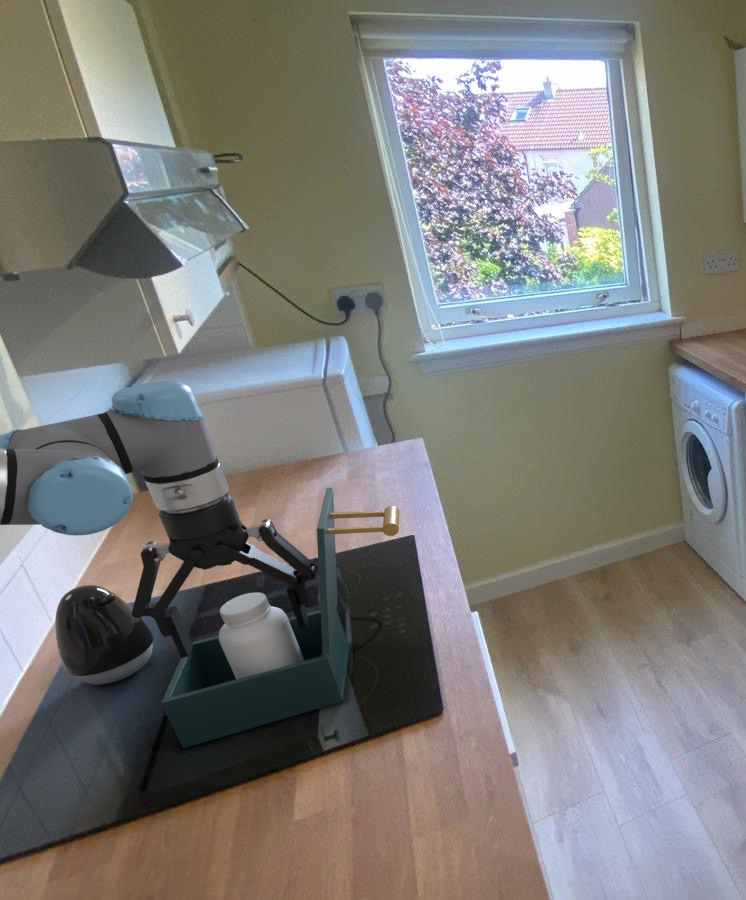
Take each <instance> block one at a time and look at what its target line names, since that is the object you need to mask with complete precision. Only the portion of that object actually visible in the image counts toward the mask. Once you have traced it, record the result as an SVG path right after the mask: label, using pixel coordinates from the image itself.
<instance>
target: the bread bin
mask: <svg viewBox="0 0 746 900" xmlns="http://www.w3.org/2000/svg"><path fill="white" fill-rule="evenodd" d="M307 615H308V621H307V626H306V628H302V629H300V628H299V625H298V622H297V619H296V616H295V615H294V616H291V617H288V620H289V623H290V625H291V628H292V630H293V633H294V635H295V638H296V640H297V643H298V645H299V648H300V650H301V653H302V655H303V658H304V661H303V662H299V663H296V664H292V665H288V666H285V667H281V668H277V669H274V670H270V671H266V672H263V673H259V674H255V675H252V676H248V677H244V678H241V679H237V680H236V678H235V675H234V673H233V671H232V669H231V666H230V664H229V662H228V660H227V658H226V655H225V653H224V651H223V649H222V646H221V644H220V642H219V635H215V636H210V637H207V638H203V639H199V640H195V641H192V643H193V647H192V649H191V651H190V653H189V656H188V657H184V658H181V657H180V659H179V662H178V664H177V666H176V668H175V671H174V673H173V675H172V677H171V680H170V681H169V684H168V687H167V689H166V691H165V693H164V695H163V697H162V700H161V702H160V704H161V707H162V709H163V710H164V712H165V715H166V717H167V718H168V721H169V722H170V725H171V726H172V729H173V731H174V733H175V735H176V736H177V739H178V741H179V743H180V745H181V747H182V749H186V748H191V747H194V746H198V745H200V744H203V743H206V742H210V741H213V740H217V739H220V738H224V737H226V736H227V737H228V736H230V735H234V734H237V733H240V732H244V731H247V730H251V729H255V728H257V727H261V726H265V725H269V724H271V723H275V722H278V721H281V720H285V719H288V718H291V717H294V716H298V715H303V714H305V713H308V712H311V711H315V710H318V709H322V708H326V707H329V706H332V705H335V704H339V703H342V702H344V696H345V686H346V678H347V671H348V664H349V663H348V662H349V653H350V644H349V642H348V638H347V635H346V633H345V630H344V627H343V623H342V622H341V619H340V616H339V613H338V610H337V611H336V617H335V624H334V630H333V637H332V643H331V649H330V655H324V656H323V648H322V627H321V609H319V610H316V611H315V610H314V611H310V612H307Z"/></svg>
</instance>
